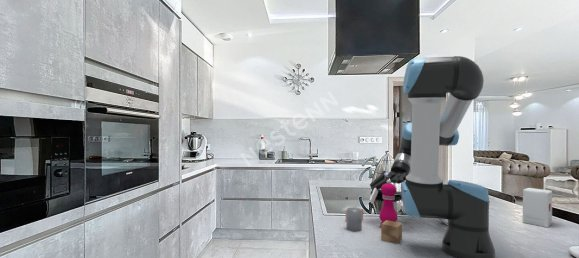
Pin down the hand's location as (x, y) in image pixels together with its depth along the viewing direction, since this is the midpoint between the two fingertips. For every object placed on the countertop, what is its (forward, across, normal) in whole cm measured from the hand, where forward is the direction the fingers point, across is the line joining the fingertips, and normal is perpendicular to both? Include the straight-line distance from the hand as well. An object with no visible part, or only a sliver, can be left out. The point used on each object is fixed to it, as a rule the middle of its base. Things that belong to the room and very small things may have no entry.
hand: (386, 204), depth 120 cm
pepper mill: (+6, 0, -8) cm, 10 cm away
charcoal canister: (+14, +9, 0) cm, 17 cm away
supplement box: (-33, -44, -48) cm, 73 cm away
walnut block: (+14, -7, 0) cm, 16 cm away
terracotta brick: (+7, +15, -7) cm, 18 cm away
